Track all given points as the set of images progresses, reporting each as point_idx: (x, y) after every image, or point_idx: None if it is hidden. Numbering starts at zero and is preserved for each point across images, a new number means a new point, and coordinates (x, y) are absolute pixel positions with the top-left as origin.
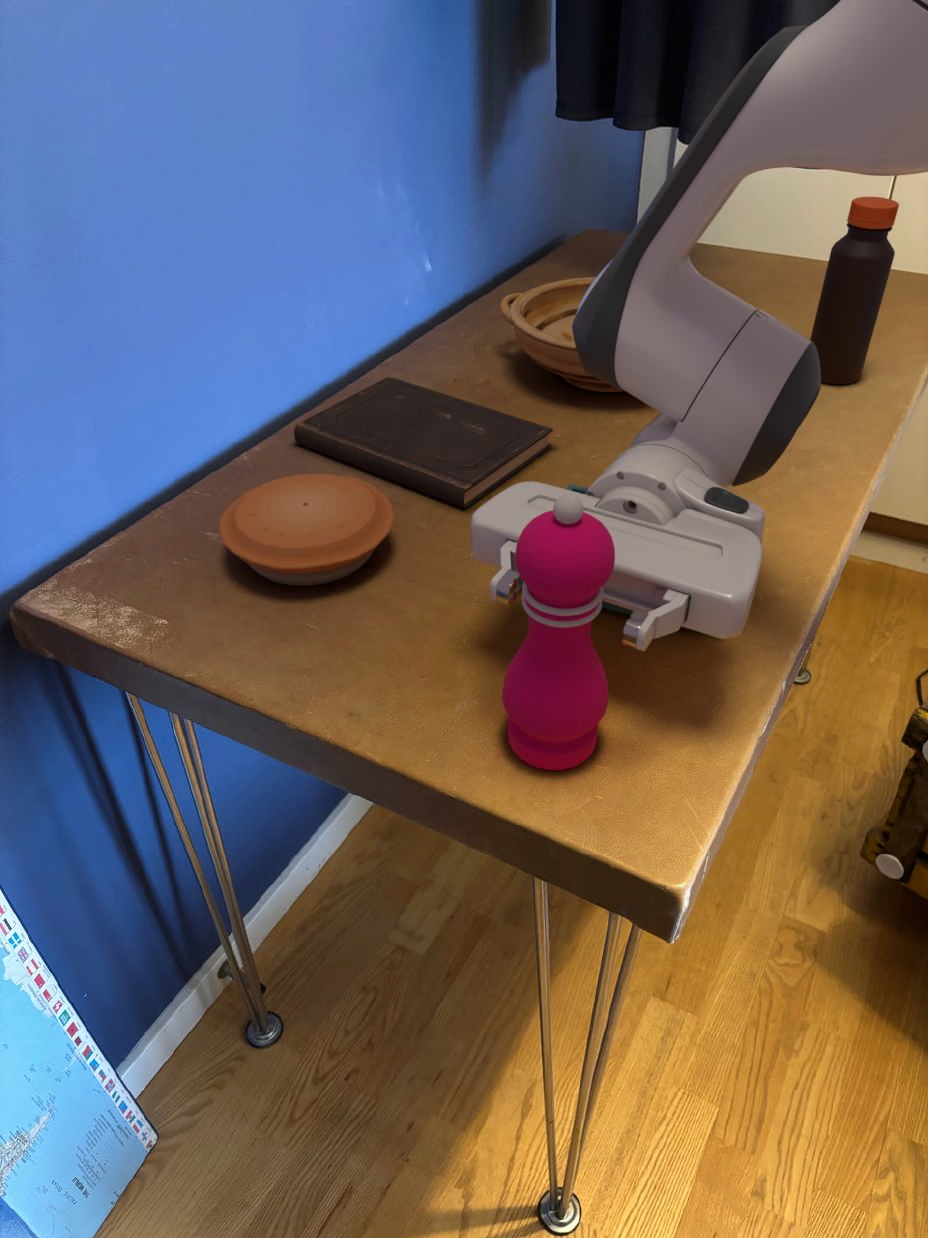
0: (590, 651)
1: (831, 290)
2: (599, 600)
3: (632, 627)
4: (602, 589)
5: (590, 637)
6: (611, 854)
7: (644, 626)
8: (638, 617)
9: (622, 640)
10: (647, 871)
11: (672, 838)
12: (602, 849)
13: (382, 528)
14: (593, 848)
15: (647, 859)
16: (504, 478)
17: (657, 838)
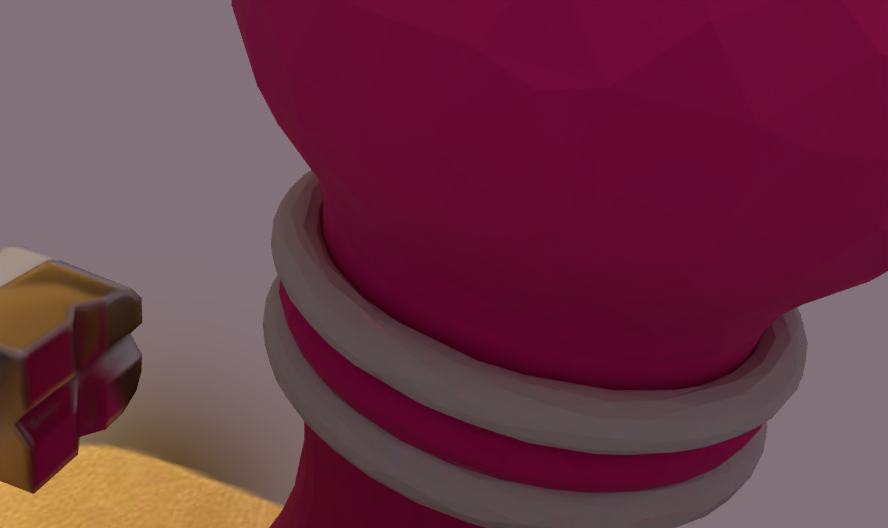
0: (282, 512)
1: None
2: (306, 173)
3: (92, 273)
4: (279, 216)
5: (287, 526)
6: (198, 484)
7: (20, 259)
8: (25, 307)
9: (138, 362)
10: (123, 451)
11: (23, 525)
12: (218, 495)
13: None
14: (239, 497)
15: (113, 475)
16: None
17: (65, 524)
